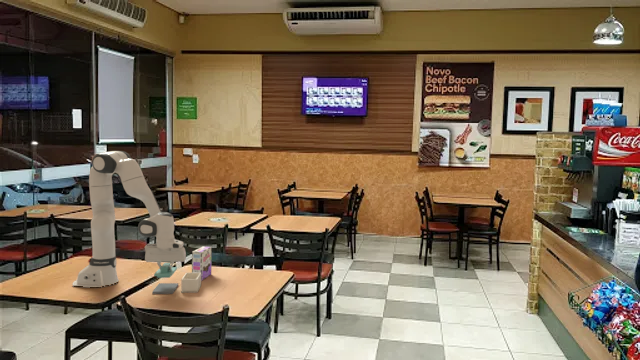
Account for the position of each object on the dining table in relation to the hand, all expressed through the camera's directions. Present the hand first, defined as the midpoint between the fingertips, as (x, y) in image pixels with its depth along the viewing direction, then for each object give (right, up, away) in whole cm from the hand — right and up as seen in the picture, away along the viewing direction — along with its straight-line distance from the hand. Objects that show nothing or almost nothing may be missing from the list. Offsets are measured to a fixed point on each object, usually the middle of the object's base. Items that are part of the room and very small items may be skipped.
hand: (165, 269), depth 249 cm
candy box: (+13, -9, +24) cm, 29 cm away
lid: (0, -3, 0) cm, 3 cm away
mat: (0, -11, +1) cm, 11 cm away
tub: (+13, -11, +3) cm, 17 cm away
